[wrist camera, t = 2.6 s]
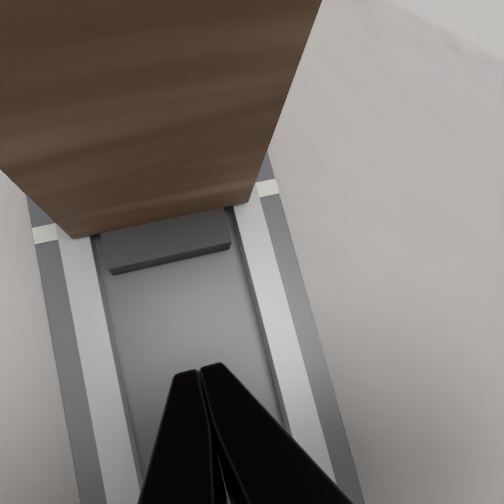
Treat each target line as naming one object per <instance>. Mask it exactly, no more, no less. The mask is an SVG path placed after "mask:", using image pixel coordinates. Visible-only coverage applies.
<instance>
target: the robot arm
mask: <svg viewBox="0 0 504 504" xmlns="http://www.w3.org/2000/svg"><path fill="white" fill-rule="evenodd" d="M199 374H200V375H199ZM219 461H220V462H219ZM221 470H222V471H221ZM222 474H223V475H222ZM223 479H224V480H223ZM224 483H225V485H224ZM225 487H226V490H227V494H228V498H229V501H230V504H354V503H353V502H352V501H351V500H350V499H349V498H348V496H347V495H346V494H345V493H344V492H343V491H342V490H341V489H340V488H339V487H338V486H337V485H336V484H335V482H334V481H333V480H332V479H331V478H330V477H329V476H328V475H327V474H326V473H325V472H324V471H323V470H322V468H321V467H320V466H319V465H318V464H317V463H316V462H315V461H314V460H313V459H312V458H311V457H310V456H309V455H308V453H307V452H306V451H305V450H304V449H303V448H302V447H301V446H300V445H299V444H298V443H297V442H296V441H295V439H294V438H293V437H292V436H291V435H290V434H289V433H288V432H287V431H286V430H285V429H284V428H283V427H282V425H281V424H280V423H279V422H278V421H277V420H276V419H275V418H274V417H273V416H272V415H271V414H270V413H269V411H268V410H267V409H266V408H265V407H264V406H263V405H262V404H261V403H260V402H259V401H258V400H257V399H256V397H255V396H254V395H253V394H252V393H251V392H250V391H249V390H248V389H247V388H246V387H245V386H244V385H243V383H242V382H241V381H240V380H239V379H238V378H237V377H236V376H235V375H234V374H233V373H232V372H231V371H230V370H229V368H228V367H227V366H226V365H225V364H223V363H221V362H218V363H214V364H210V365H206V366H203V367H201V368H200V370H199V372H198V370H197V369H191V370H188V371H184V372H180V373H177V374H175V375H174V376H173V378H172V381H171V385H170V388H169V392H168V396H167V399H166V403H165V406H164V410H163V413H162V417H161V420H160V424H159V427H158V431H157V435H156V438H155V442H154V445H153V449H152V452H151V456H150V459H149V463H148V466H147V470H146V473H145V477H144V481H143V484H142V488H141V491H140V495H139V498H138V502H137V504H228V500H227V495H226V490H225Z"/></svg>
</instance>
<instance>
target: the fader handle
mask: <svg viewBox="0 0 504 504" xmlns="http://www.w3.org/2000/svg"><path fill="white" fill-rule="evenodd" d="M321 2H322V0H0V169H1V170H2V171H3V172H4V173H5V174H6V175H7V176H8V177H9V178H10V179H11V180H12V181H13V182H14V183H15V184H16V185H17V186H18V187H19V188H20V189H21V190H22V191H23V192H24V193H25V194H26V195H27V196H28V197H29V198H30V199H31V200H32V201H34V202H35V203H36V204H37V205H38V206H39V207H40V208H41V209H42V210H43V211H44V212H45V213H46V214H47V215H48V216H49V217H50V218H51V219H52V220H53V221H54V222H55V223H56V224H57V225H58V226H59V227H60V228H61V229H62V230H63V231H64V232H65V233H66V234H68V235H69V236H70V237H71V238H72V239H75V238H80V237H85V236H89V235H94V234H99V233H100V235H101V240H102V245H103V250H104V255H105V260H106V265H107V270H108V271H109V272H110V273H111V274H112V275H118V274H122V273H126V272H131V271H135V270H140V269H144V268H149V267H153V266H157V265H162V264H166V263H171V262H175V261H180V260H184V259H189V258H193V257H197V256H202V255H206V254H211V253H215V252H220V251H224V250H229V248H230V246H231V243H232V240H231V236H230V232H229V228H228V225H227V221H226V217H225V213H224V209H223V207H228V206H233V205H237V204H242V203H247V202H248V201H249V199H250V196H251V193H252V190H253V188H254V185H255V182H256V179H257V177H258V174H259V171H260V169H261V166H262V163H263V160H264V158H265V155H266V152H267V149H268V147H269V144H270V141H271V138H272V136H273V133H274V130H275V127H276V125H277V122H278V119H279V117H280V114H281V111H282V108H283V106H284V103H285V100H286V97H287V95H288V92H289V89H290V86H291V84H292V81H293V78H294V76H295V73H296V70H297V67H298V65H299V62H300V59H301V56H302V54H303V51H304V48H305V45H306V43H307V40H308V37H309V34H310V32H311V29H312V26H313V24H314V21H315V18H316V15H317V13H318V10H319V7H320V4H321Z"/></svg>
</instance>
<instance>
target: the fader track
mask: <svg viewBox="0 0 504 504" xmlns="http://www.w3.org/2000/svg"><path fill="white" fill-rule="evenodd" d="M26 196H27V195H26ZM27 201H28V207H29V213H30V218H31V224H32V228H31V229H32V234H33V240H34V244H35V247H36V252H37V258H38V264H39V269H40V275H41V281H42V286H43V292H44V298H45V303H46V309H47V315H48V320H49V326H50V332H51V337H52V343H53V349H54V354H55V360H56V366H57V371H58V377H59V383H60V388H61V394H62V400H63V405H64V411H65V417H66V422H67V428H68V434H69V439H70V445H71V451H72V456H73V462H74V468H75V473H76V479H77V485H78V490H79V496H80V502H81V504H137V502H138V498H139V495H140V491H141V488H142V484H143V481H144V477H145V473H146V470H147V466H148V463H149V459H150V456H151V452H152V449H153V445H154V442H155V438H156V435H157V431H158V427H159V424H160V420H161V417H162V413H163V410H164V406H165V403H166V399H167V396H168V392H169V388H170V385H171V381H172V378H173V376H174V375H175V374H177V373H180V372H184V371H188V370H191V369H197V370H198V372H199V370H200V368H201V367H203V366H206V365H210V364H214V363H218V362H221V363H223V364H225V365H226V366H227V367H228V368H229V370H230V371H231V372H232V373H233V374H234V375H235V376H236V377H237V378H238V379H239V380H240V381H241V382H242V383H243V385H244V386H245V387H246V388H247V389H248V390H249V391H250V392H251V393H252V394H253V395H254V396H255V397H256V399H257V400H258V401H259V402H260V403H261V404H262V405H263V406H264V407H265V408H266V409H267V410H268V411H269V413H270V414H271V415H272V416H273V417H274V418H275V419H276V420H277V421H278V422H279V423H280V424H281V425H282V427H283V428H284V429H285V430H286V431H287V432H288V433H289V434H290V435H291V436H292V437H293V438H294V439H295V441H296V442H297V443H298V444H299V445H300V446H301V447H302V448H303V449H304V450H305V451H306V452H307V453H308V455H309V456H310V457H311V458H312V459H313V460H314V461H315V462H316V463H317V464H318V465H319V466H320V467H321V468H322V470H323V471H324V472H325V473H326V474H327V475H328V476H329V477H330V478H331V479H332V480H333V481H334V482H335V484H336V485H337V486H338V487H339V488H340V489H341V490H342V491H343V492H344V493H345V494H346V495H347V496H348V498H349V499H350V500H351V501H352V502H353V503H354V504H365V502H364V498H363V495H362V491H361V487H360V484H359V480H358V477H357V473H356V469H355V466H354V462H353V459H352V455H351V451H350V448H349V444H348V441H347V437H346V433H345V430H344V426H343V423H342V419H341V415H340V412H339V408H338V405H337V401H336V397H335V394H334V390H333V387H332V383H331V379H330V376H329V372H328V369H327V365H326V361H325V358H324V354H323V351H322V347H321V343H320V340H319V336H318V332H317V329H316V325H315V322H314V318H313V314H312V311H311V307H310V304H309V300H308V296H307V293H306V289H305V286H304V282H303V278H302V275H301V271H300V268H299V264H298V260H297V257H296V253H295V250H294V246H293V242H292V239H291V235H290V232H289V228H288V224H287V221H286V217H285V214H284V210H283V206H282V203H281V199H280V196H279V189H278V186H277V182H276V179H275V178H274V174H273V170H272V167H271V163H270V160H269V156H268V152H266V155H265V158H264V160H263V163H262V166H261V169H260V171H259V174H258V177H257V179H256V182H255V185H254V188H253V190H252V193H251V196H250V199H249V201H248V202H247V203H242V204H237V205H233V206H228V207H223V209H224V213H225V217H226V221H227V225H228V228H229V232H230V236H231V240H232V243H231V246H230V248H229V250H224V251H220V252H215V253H211V254H206V255H202V256H197V257H193V258H189V259H184V260H180V261H175V262H171V263H166V264H162V265H157V266H153V267H149V268H144V269H140V270H135V271H131V272H126V273H122V274H118V275H112V274H111V273H110V272H109V271H108V270H107V265H106V260H105V255H104V250H103V245H102V240H101V235H100V233H99V234H94V235H89V236H85V237H80V238H75V239H72V238H71V237H70V236H69V235H68V234H66V233H65V232H64V231H63V230H62V229H61V228H60V227H59V226H58V225H57V224H56V223H55V222H54V221H53V220H52V219H51V218H50V217H49V216H48V215H47V214H46V213H45V212H44V211H43V210H42V209H41V208H40V207H39V206H38V205H37V204H36V203H35V202H34V201H32V200H31V199H30V198H29V197H28V196H27ZM199 375H200V374H199ZM219 462H220V461H219ZM221 471H222V470H221ZM222 475H223V474H222ZM223 480H224V479H223ZM224 485H225V483H224ZM225 490H226V487H225ZM226 495H227V500H228V504H230V501H229V498H228V494H227V490H226Z"/></svg>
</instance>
